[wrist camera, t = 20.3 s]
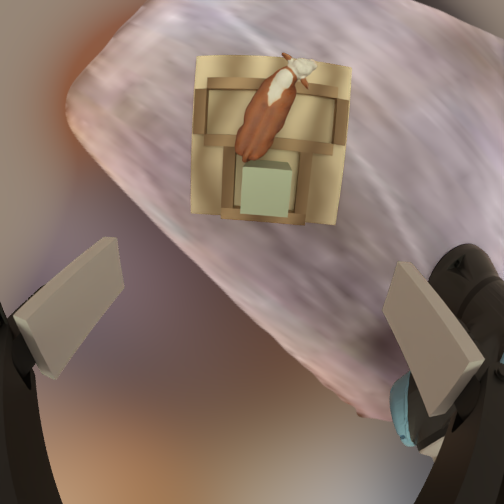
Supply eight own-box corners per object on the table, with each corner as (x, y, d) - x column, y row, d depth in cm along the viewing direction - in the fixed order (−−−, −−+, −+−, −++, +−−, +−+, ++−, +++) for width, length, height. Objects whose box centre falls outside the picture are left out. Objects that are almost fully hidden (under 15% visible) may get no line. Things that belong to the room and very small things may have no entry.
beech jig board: (349, 69, 29) (354, 65, 27) (333, 222, 38) (337, 228, 36) (198, 58, 30) (193, 53, 28) (192, 211, 39) (187, 216, 37)
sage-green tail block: (288, 162, 35) (292, 170, 27) (284, 199, 37) (287, 217, 29) (248, 159, 35) (242, 166, 27) (246, 196, 37) (240, 213, 30)
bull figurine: (315, 76, 28) (328, 61, 21) (259, 163, 33) (255, 173, 26) (284, 58, 28) (288, 38, 20) (228, 146, 33) (215, 150, 25)
